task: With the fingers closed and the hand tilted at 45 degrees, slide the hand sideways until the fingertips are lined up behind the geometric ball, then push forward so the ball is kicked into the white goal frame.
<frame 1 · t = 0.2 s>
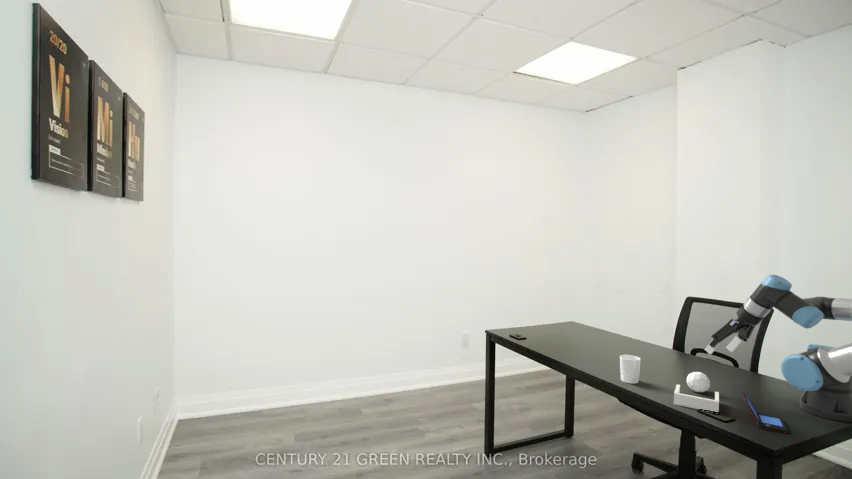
hand: (718, 350, 167), 16 cm above the table, tool tilted 35°, fingers open, 13 cm apart
white cup: (629, 381, 176), on the table
geometric ball: (697, 391, 165), on the table
goal: (696, 403, 154), on the table
handheld game console: (763, 423, 139), on the table
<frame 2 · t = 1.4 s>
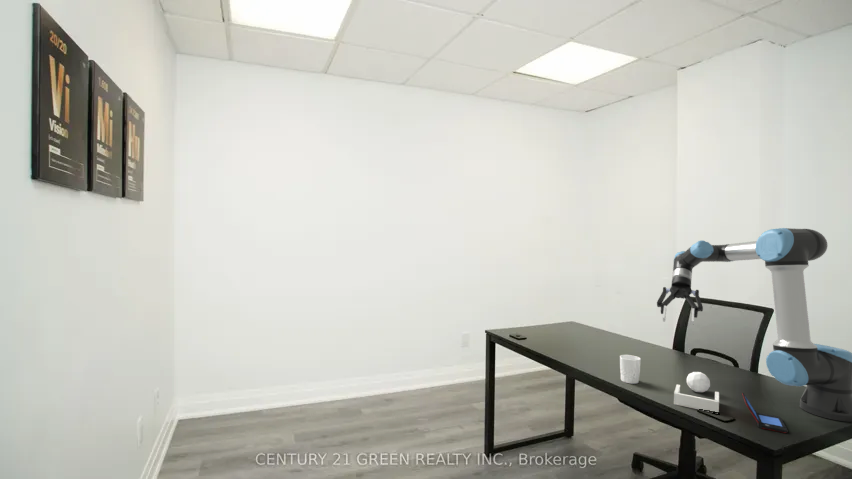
hand: (678, 321, 177), 25 cm above the table, tool tilted 45°, fingers open, 10 cm apart
nothing on the table moved.
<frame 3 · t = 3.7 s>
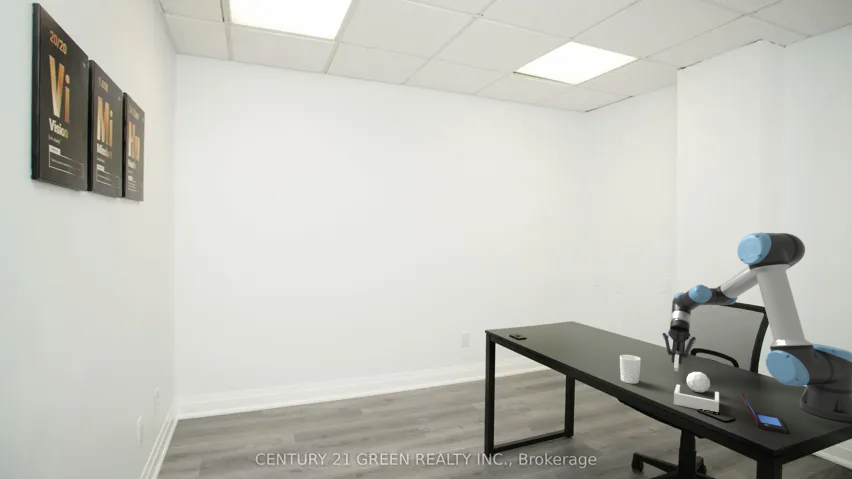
hand: (676, 369, 177), 5 cm above the table, tool tilted 45°, fingers closed
nothing on the table moved.
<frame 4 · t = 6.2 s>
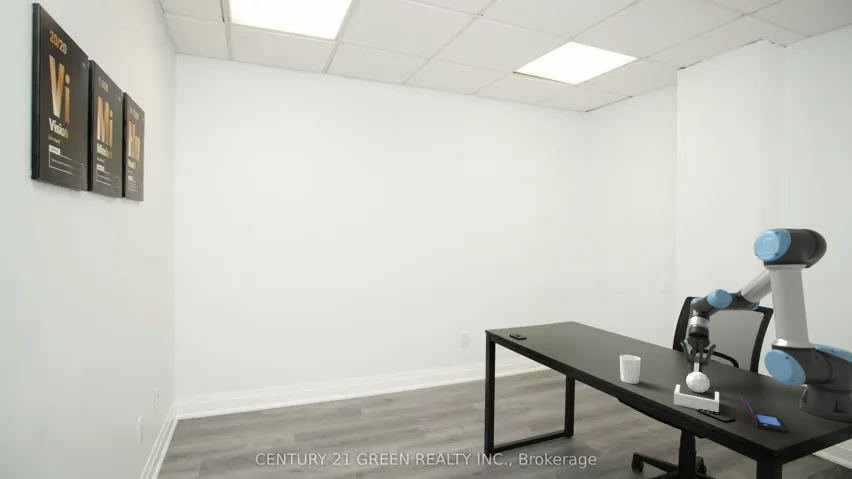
hand: (695, 378, 169), 3 cm above the table, tool tilted 45°, fingers closed
geometric ball: (697, 392, 165), on the table, touching gripper
everything else where it was.
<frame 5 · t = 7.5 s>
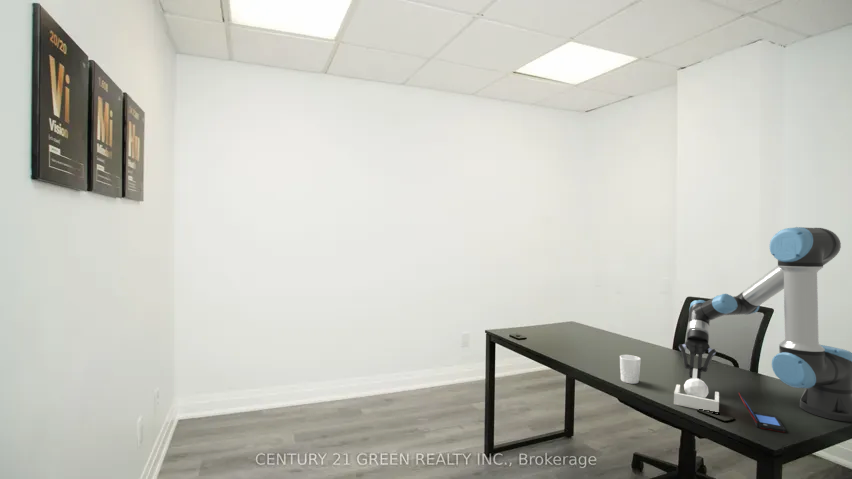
hand: (694, 385, 162), 4 cm above the table, tool tilted 45°, fingers closed
geometric ball: (695, 399, 158), on the table, touching gripper
everything else where it was.
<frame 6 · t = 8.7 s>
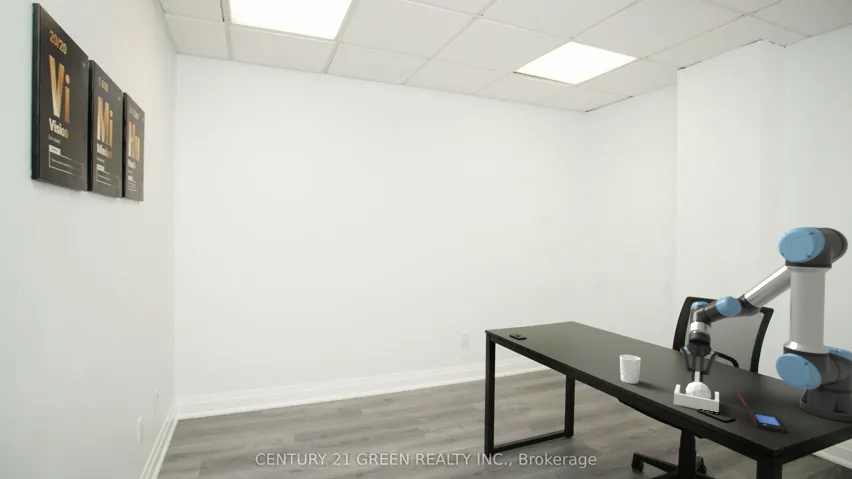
hand: (696, 388, 158), 4 cm above the table, tool tilted 45°, fingers closed
geometric ball: (698, 403, 154), on the table, touching gripper
everything else where it was.
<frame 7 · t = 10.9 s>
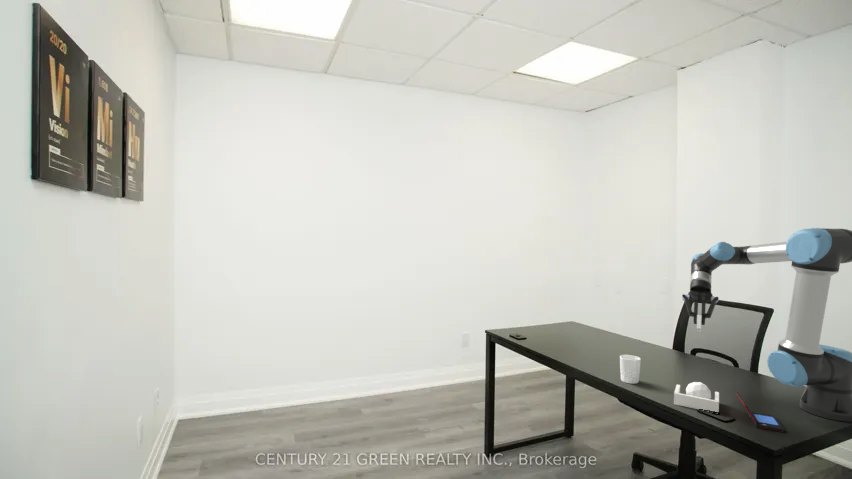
hand: (698, 330, 165), 24 cm above the table, tool tilted 45°, fingers closed
geometric ball: (698, 403, 154), on the table
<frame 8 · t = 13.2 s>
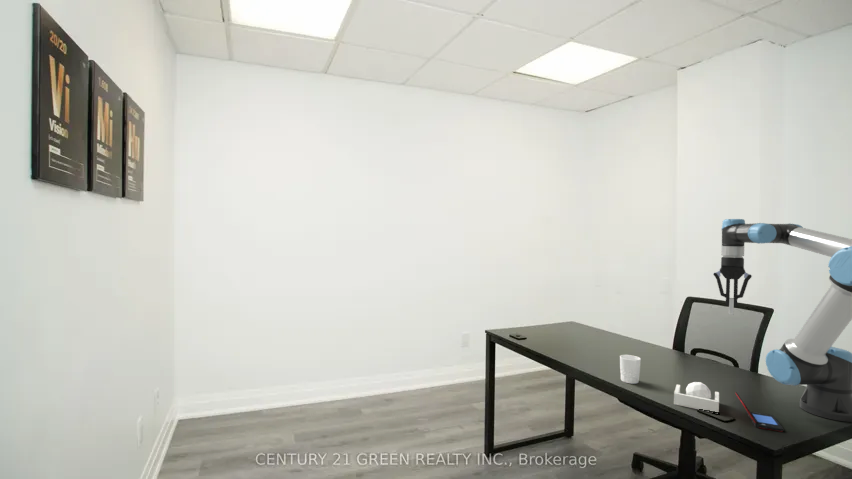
hand: (731, 314, 172), 29 cm above the table, tool pointing down, fingers closed
at the end: geometric ball 0.6 cm from the goal (horizontally); geometric ball moved 13.6 cm from its start; the gripper is holding nothing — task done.
